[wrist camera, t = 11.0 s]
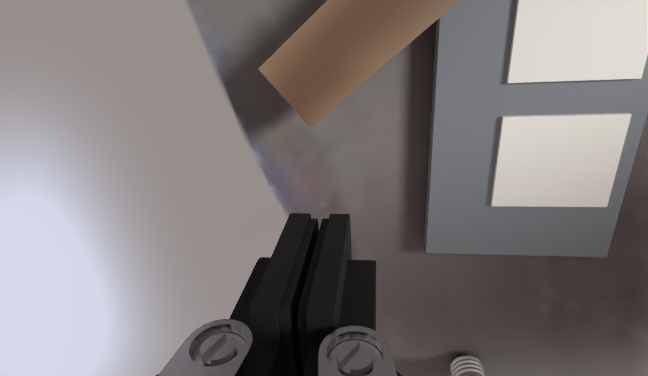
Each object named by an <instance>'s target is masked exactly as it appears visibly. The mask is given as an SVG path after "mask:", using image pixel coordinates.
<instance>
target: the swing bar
mask: <svg viewBox="0 0 648 376" xmlns="http://www.w3.org/2000/svg"><path fill="white" fill-rule="evenodd" d="M459 1H460V0H327V1H326V2H325V3H324V4H323V5H322V6H321V7H320V8H319V9H318V10H317V11H316V12H315V13H314V14H313V15H312V16H311V17H310V18H309V19H308V20H307V21H306V22H305V23H304V24H303V25H302V26H301V27H300V28H299V29H298V30H297V31H296V32H295V33H294V34H293V35H292V36H291V37H290V38H289V39H288V40H287V41H286V42H285V43H284V44H283V45H282V46H281V47H280V48H279V49H278V50H277V51H276V52H275V53H274V54H273V55H272V56H271V57H270V58H269V59H268V60H267V61H265V62H264V63H263V64H262V65H261V66H260V67H259V68H258V69H259V70H260V72H261V73H262V74H263V75H264V76H265V77H266V78H267V79H268V81H269V82H270V83H271V84H272V85H273V86H274V87H275V88H276V90H277V91H278V92H279V93H280V94H281V95H282V96H283V97H284V99H285V100H286V101H287V102H288V103H289V104H290V105H291V106H292V108H293V109H294V110H295V111H296V112H297V113H298V114H299V115H300V117H301V118H302V119H303V120H304V121H305V122H306V123H307V124H308V126H309V127H310V128H311V127H312V126H313V125H314V124H315V123H316V122H318V121H319V120H320V119H321V118H322V117H323V116H325V115H326V114H327V113H328V112H329V111H331V110H332V109H333V108H334V107H335V106H336V105H338V104H339V103H340V102H341V101H342V100H343V99H345V98H346V97H347V96H348V95H349V94H351V93H352V92H353V91H354V90H355V89H356V88H358V87H359V86H360V85H361V84H362V83H363V82H365V81H366V80H367V79H368V78H369V77H371V76H372V75H373V74H374V73H375V72H376V71H378V70H379V69H380V68H381V67H382V66H383V65H385V64H386V63H387V62H388V61H389V60H391V59H392V58H393V57H394V56H395V55H396V54H398V53H399V52H400V51H401V50H402V49H403V48H405V47H406V46H407V45H408V44H409V43H411V42H412V41H413V40H414V39H415V38H416V37H418V36H419V35H420V34H421V33H422V32H423V31H425V30H426V29H427V28H428V27H429V26H431V25H432V24H433V23H434V22H435V21H436V20H438V19H439V18H440V17H441V16H442V15H443V14H445V13H446V12H447V11H448V10H449V9H450V8H452V7H453V6H454V5H455V4H456V3H458V2H459Z"/></svg>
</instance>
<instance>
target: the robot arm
mask: <svg viewBox="0 0 648 376" xmlns="http://www.w3.org/2000/svg"><path fill="white" fill-rule="evenodd" d="M156 376H402V375H400V374H399V373H398V372H397V371H396V369H395V364H394V360H393V355H392V350H391V348H390V346H389V343H388V341H387V340H386V339H385V338H384V337H383V336H382V335H381V334H379V333H378V332H376V261H371V260H352V258H351V228H350V214H330V216H329V219H322V222H321V226H320V230H319V227H318V220H317V219H311V215H310V214H301V213H291V214H290V215H289V218H288V220H287V222H286V224H285V227H284V229H283V231H282V234H281V236H280V238H279V241H278V243H277V245H276V248H275V250H274V252H273V254H272V257H271V258H265V257H262V258H260V259H259V260H258V261H257V263H256V265H255V267H254V269H253V271H252V273H251V275H250V277H249V279H248V282H247V284H246V286H245V288H244V290H243V292H242V294H241V296H240V298H239V300H238V302H237V304H236V306H235V309H234V310H233V313H232V315H231V317H230V319H222V320H216V321H212V322H210V323H207V324H205V325H203V326H201V327H200V328H198V329H197V330H195V331H194V332H193V333H192V334H191V335H190V336H189V337H188V338H187V339H186V340H185V342H184V343H183V344H182V346H181V347H180V348H179V349H178V351H177V352H176V353H175V355H174V356H173V357H172V358H171V360H170V361H169V362H168V364H167V365H166V366H165V367H164V369H163V370H162V371H161V373H160V374H158V375H156Z"/></svg>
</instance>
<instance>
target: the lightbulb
mask: <svg viewBox="0 0 648 376" xmlns="http://www.w3.org/2000/svg"><path fill="white" fill-rule="evenodd" d="M450 371H451V375H452V376H485V372H484V369H483V366H482V363H481V361H480V360H479V359H477V358H476V357H473V356H468V355H464V356H459V357H457V358H455V359H454V360H453V361H452V362H451V364H450Z"/></svg>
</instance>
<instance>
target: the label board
mask: <svg viewBox="0 0 648 376" xmlns="http://www.w3.org/2000/svg"><path fill="white" fill-rule="evenodd" d="M647 114H648V0H460V1H459V2H458V3H456V4H455V5H454V6H453V7H452V8H450V9H449V10H448V11H447V12H446V13H445V14H443V15H442V16H441V17H440V18H439V19H438V20H436V36H435V54H434V72H433V90H432V108H431V126H430V144H429V162H428V180H427V198H426V216H425V234H424V244H425V250H426V253H441V254H483V255H525V256H567V257H607V255H608V251H609V248H610V244H611V241H612V237H613V234H614V230H615V227H616V223H617V220H618V216H619V212H620V209H621V205H622V202H623V198H624V195H625V191H626V188H627V184H628V181H629V177H630V174H631V170H632V167H633V163H634V160H635V156H636V153H637V149H638V146H639V142H640V139H641V135H642V131H643V128H644V124H645V121H646V117H647Z"/></svg>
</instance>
